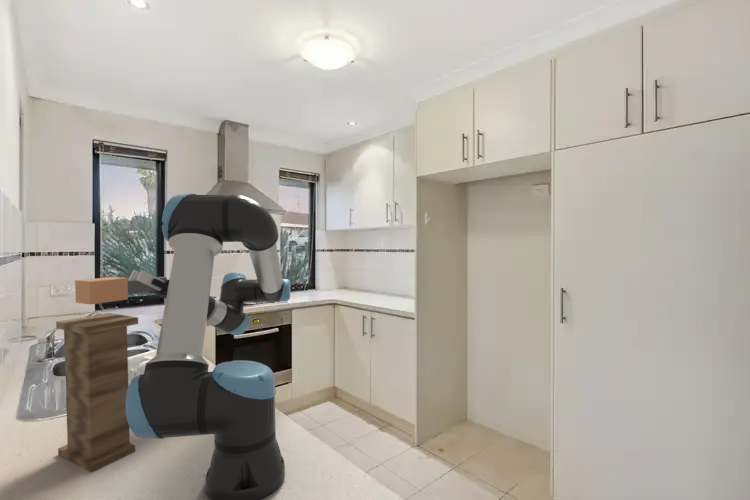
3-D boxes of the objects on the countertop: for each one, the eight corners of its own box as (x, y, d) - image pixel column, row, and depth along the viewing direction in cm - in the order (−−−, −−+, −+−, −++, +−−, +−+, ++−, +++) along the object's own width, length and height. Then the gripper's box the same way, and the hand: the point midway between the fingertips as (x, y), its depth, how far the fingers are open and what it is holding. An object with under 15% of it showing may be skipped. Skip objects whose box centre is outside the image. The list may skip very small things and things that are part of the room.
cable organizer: (163, 380, 135) (162, 347, 134) (184, 385, 130) (184, 350, 130) (119, 397, 121) (118, 359, 121) (141, 402, 117) (140, 364, 116)
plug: (171, 293, 102) (170, 274, 102) (90, 304, 85) (89, 281, 85) (156, 291, 105) (156, 273, 105) (75, 302, 88) (75, 280, 88)
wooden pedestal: (143, 447, 92) (140, 317, 91) (91, 472, 82) (87, 327, 81) (110, 433, 98) (106, 312, 97) (58, 454, 89) (54, 321, 88)
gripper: (219, 323, 110) (147, 291, 92) (183, 318, 117) (109, 287, 99) (230, 298, 113) (162, 262, 95) (193, 295, 120) (124, 260, 102)
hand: (135, 275), depth 97 cm, fingers closed on plug, 3 cm apart
